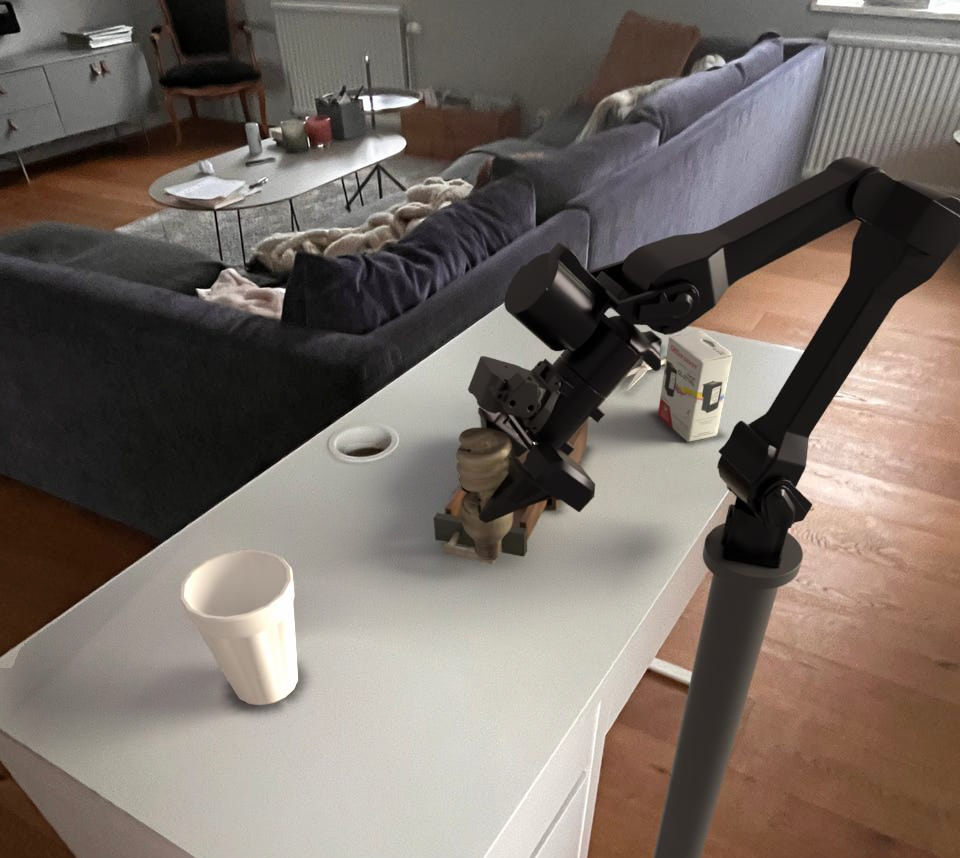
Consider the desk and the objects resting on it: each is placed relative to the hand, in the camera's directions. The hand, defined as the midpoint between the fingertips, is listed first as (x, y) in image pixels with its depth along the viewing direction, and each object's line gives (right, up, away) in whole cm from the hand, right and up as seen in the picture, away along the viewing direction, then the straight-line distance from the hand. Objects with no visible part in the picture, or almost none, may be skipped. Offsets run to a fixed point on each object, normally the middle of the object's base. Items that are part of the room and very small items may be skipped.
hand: (472, 505), depth 80 cm
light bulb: (+2, -5, +5) cm, 7 cm away
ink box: (+30, +17, +36) cm, 50 cm away
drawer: (+2, +1, +19) cm, 19 cm away
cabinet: (+7, +9, +29) cm, 31 cm away
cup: (-20, -18, +2) cm, 27 cm away
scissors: (+27, +30, +49) cm, 64 cm away
